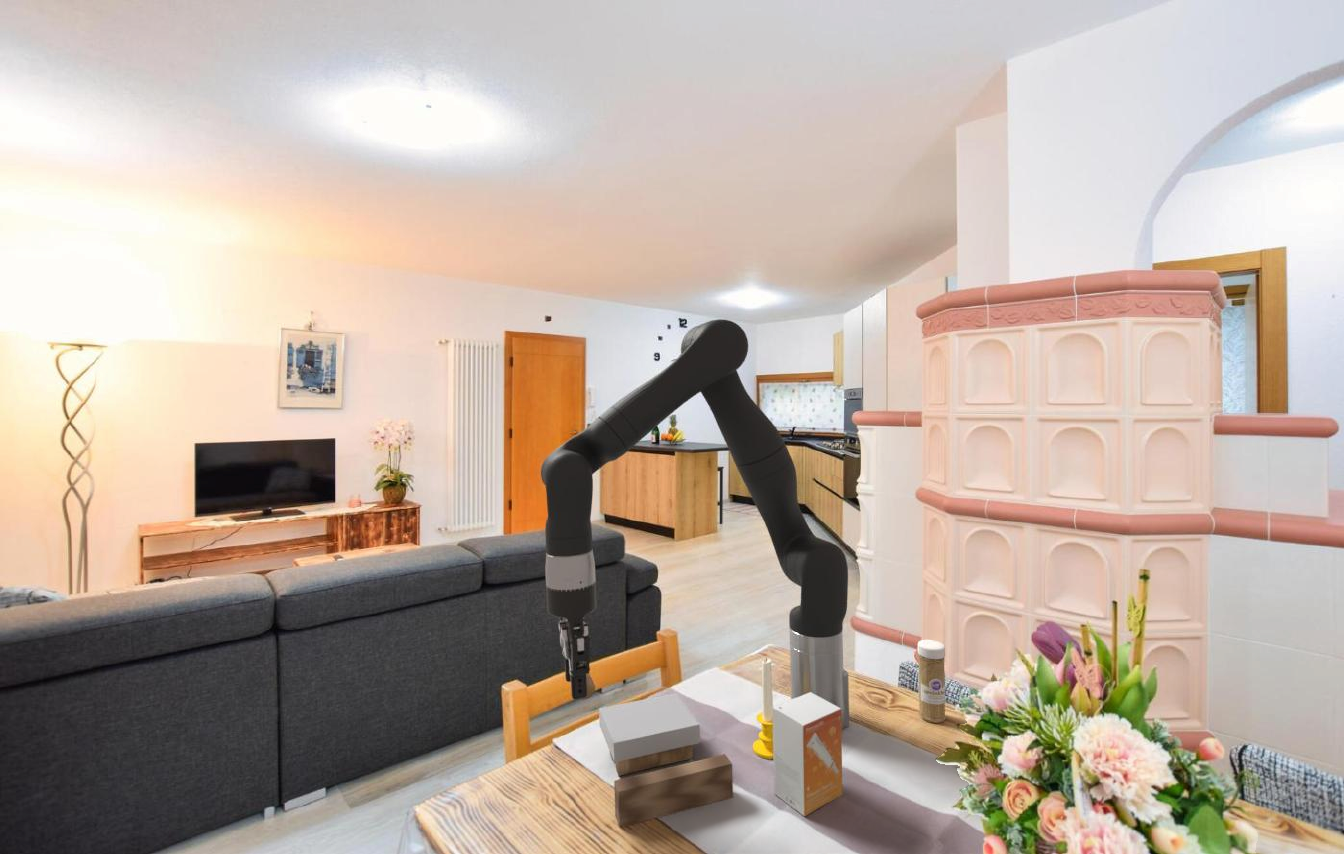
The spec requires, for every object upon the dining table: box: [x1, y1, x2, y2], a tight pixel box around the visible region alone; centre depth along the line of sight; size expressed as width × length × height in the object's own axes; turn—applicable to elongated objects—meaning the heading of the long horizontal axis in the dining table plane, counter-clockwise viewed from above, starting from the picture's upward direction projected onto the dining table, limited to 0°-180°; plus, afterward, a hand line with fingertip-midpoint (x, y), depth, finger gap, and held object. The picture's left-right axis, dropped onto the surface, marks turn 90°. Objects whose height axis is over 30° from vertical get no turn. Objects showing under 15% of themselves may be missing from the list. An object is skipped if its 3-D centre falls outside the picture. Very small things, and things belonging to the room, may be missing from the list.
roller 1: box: [570, 665, 596, 700], centre depth 90 cm, size 6×3×3 cm
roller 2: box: [615, 745, 694, 776], centre depth 93 cm, size 12×4×4 cm, turn 109°
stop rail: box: [613, 753, 734, 828], centre depth 83 cm, size 17×2×5 cm, turn 109°
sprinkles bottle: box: [917, 639, 947, 724], centre depth 104 cm, size 5×5×14 cm
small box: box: [772, 692, 843, 817], centre depth 85 cm, size 8×6×13 cm
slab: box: [598, 692, 701, 763], centre depth 95 cm, size 14×11×3 cm
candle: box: [752, 657, 774, 760], centre depth 96 cm, size 5×5×16 cm
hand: (575, 687), depth 89 cm, fingers closed on roller 1, 5 cm apart
